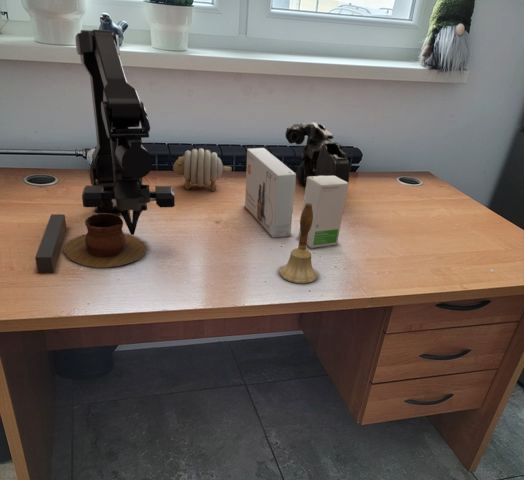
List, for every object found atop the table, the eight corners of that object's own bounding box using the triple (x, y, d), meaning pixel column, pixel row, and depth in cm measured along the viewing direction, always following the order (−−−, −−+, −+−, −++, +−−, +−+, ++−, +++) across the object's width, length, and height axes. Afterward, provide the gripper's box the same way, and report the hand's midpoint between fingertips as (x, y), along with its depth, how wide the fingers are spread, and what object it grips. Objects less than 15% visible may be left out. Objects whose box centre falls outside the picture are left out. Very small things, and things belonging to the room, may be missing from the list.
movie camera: (274, 171, 168) (283, 114, 157) (325, 175, 172) (337, 120, 162) (299, 211, 145) (311, 148, 134) (357, 214, 149) (374, 154, 138)
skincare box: (242, 206, 143) (246, 147, 134) (260, 205, 145) (265, 147, 135) (271, 238, 128) (277, 174, 118) (291, 236, 130) (299, 173, 120)
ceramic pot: (162, 253, 116) (162, 224, 112) (92, 276, 105) (88, 244, 101) (117, 226, 125) (115, 198, 121) (48, 245, 114) (43, 214, 110)
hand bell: (277, 265, 116) (285, 196, 107) (313, 266, 117) (324, 198, 108) (281, 283, 110) (290, 211, 100) (319, 284, 111) (332, 213, 101)
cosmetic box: (310, 249, 125) (320, 185, 115) (296, 238, 129) (304, 176, 120) (338, 244, 128) (350, 182, 119) (324, 234, 133) (334, 173, 123)
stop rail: (38, 272, 104) (35, 257, 102) (53, 228, 121) (51, 214, 119) (53, 272, 105) (50, 257, 103) (66, 228, 122) (64, 214, 120)
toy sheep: (173, 180, 155) (172, 142, 148) (228, 182, 158) (230, 145, 151) (173, 193, 147) (173, 153, 140) (232, 194, 150) (234, 155, 143)
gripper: (74, 174, 97) (85, 250, 106) (175, 175, 100) (177, 249, 109) (80, 157, 105) (89, 229, 115) (172, 159, 109) (174, 228, 118)
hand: (132, 234), depth 114 cm, fingers closed
